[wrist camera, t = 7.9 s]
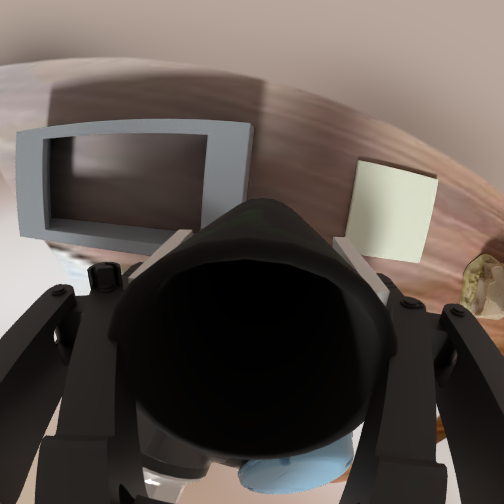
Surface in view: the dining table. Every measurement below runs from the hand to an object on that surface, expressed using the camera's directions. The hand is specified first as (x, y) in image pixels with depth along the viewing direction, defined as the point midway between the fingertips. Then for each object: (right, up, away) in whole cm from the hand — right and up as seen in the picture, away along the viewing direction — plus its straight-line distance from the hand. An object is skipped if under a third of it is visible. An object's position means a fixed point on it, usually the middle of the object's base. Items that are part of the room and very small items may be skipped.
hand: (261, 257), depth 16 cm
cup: (0, +1, +2) cm, 2 cm away
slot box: (-17, +10, +20) cm, 28 cm away
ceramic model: (+40, -5, +22) cm, 46 cm away
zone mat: (+18, +5, +19) cm, 27 cm away
